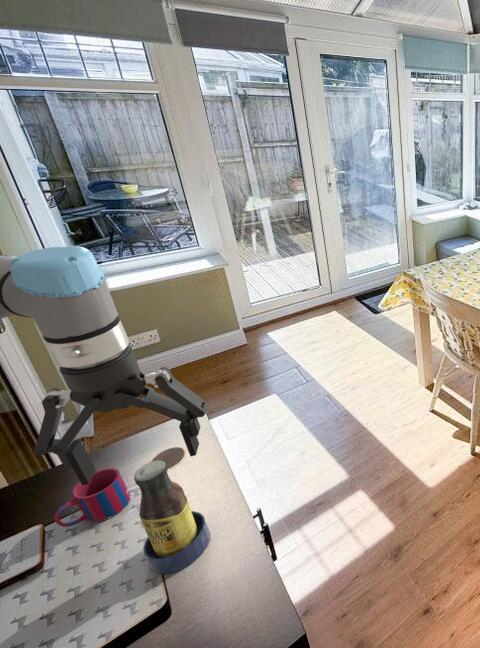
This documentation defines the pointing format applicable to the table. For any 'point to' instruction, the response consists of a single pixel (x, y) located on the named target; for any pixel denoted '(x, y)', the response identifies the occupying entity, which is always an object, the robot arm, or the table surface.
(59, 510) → the mug
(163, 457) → the coaster
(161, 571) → the bowl
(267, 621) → the table surface
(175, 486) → the sauce bottle
